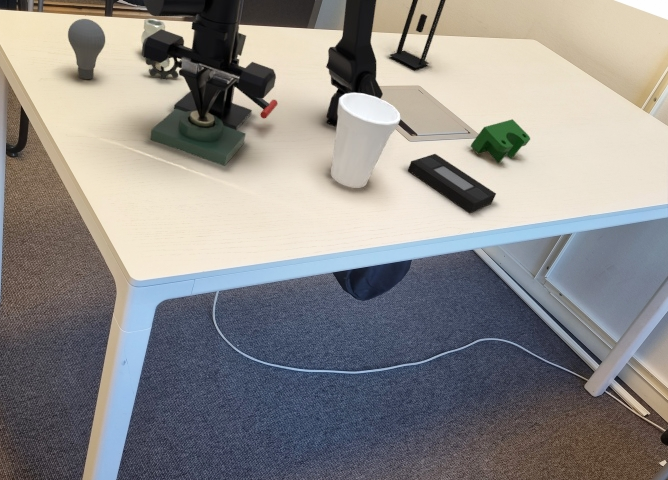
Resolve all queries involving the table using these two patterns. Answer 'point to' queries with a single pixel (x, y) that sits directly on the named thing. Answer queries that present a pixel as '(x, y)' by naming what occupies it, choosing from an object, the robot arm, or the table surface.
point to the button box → (198, 137)
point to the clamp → (500, 140)
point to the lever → (260, 103)
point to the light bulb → (86, 45)
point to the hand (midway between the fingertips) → (202, 116)
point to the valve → (151, 28)
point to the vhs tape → (452, 182)
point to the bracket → (220, 106)
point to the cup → (361, 137)
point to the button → (201, 120)
